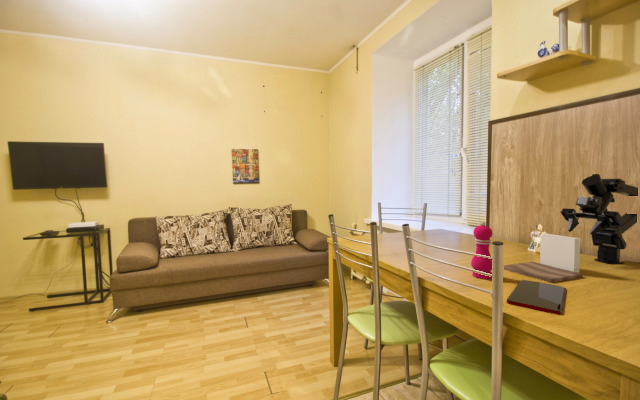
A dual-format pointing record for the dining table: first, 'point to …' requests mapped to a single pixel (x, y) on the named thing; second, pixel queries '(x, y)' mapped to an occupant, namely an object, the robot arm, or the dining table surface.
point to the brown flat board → (543, 271)
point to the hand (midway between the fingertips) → (579, 232)
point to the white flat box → (560, 252)
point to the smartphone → (538, 296)
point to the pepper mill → (482, 250)
